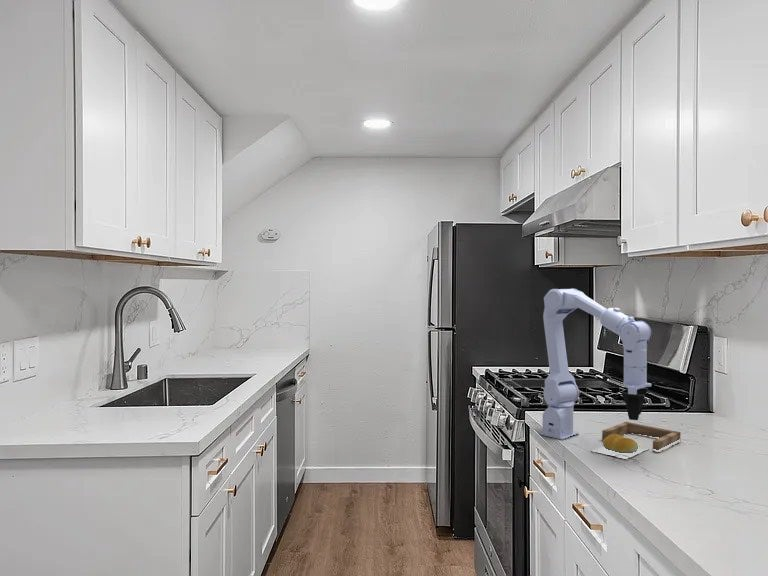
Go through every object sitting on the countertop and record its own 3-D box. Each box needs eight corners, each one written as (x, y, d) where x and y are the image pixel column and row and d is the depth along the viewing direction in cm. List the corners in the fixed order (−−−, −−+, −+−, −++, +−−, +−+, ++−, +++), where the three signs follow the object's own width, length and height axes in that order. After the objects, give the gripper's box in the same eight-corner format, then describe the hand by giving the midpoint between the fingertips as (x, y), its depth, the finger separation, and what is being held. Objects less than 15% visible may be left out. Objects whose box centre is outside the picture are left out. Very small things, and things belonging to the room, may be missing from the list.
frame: (658, 453, 167) (658, 442, 167) (602, 440, 178) (602, 430, 178) (680, 442, 177) (680, 432, 177) (625, 431, 189) (625, 421, 189)
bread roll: (625, 456, 163) (626, 441, 162) (597, 448, 170) (598, 433, 170) (645, 451, 167) (645, 437, 167) (617, 443, 175) (617, 429, 174)
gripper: (649, 371, 156) (649, 424, 156) (653, 363, 169) (653, 412, 169) (619, 369, 159) (619, 421, 159) (626, 362, 172) (626, 410, 172)
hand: (635, 416), depth 164 cm, fingers open, 7 cm apart
